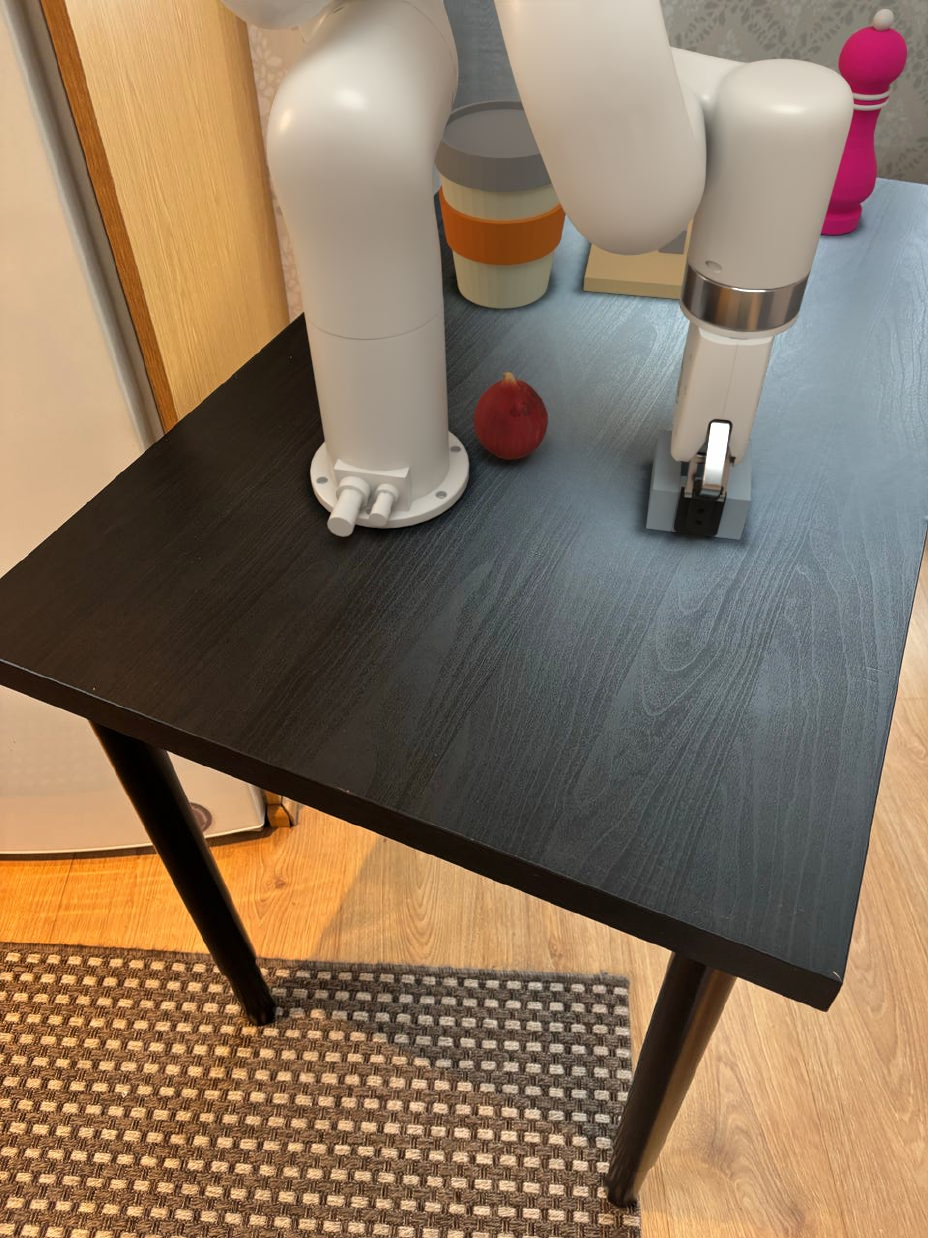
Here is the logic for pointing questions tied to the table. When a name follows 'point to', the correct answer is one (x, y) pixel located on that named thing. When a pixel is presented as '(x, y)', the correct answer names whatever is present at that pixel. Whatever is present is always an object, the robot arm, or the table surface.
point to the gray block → (674, 474)
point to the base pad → (640, 270)
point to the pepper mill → (863, 116)
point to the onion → (510, 418)
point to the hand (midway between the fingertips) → (697, 495)
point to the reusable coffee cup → (497, 204)
